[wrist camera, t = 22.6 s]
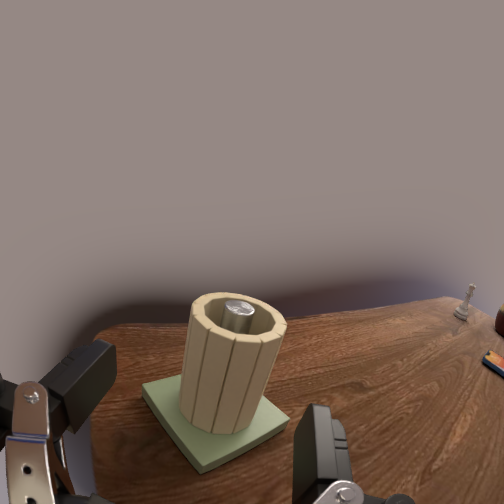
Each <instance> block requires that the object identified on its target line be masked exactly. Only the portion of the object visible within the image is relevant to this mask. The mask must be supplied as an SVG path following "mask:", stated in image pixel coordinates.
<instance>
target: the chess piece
mask: <svg viewBox="0 0 504 504" xmlns="http://www.w3.org/2000/svg"><path fill="white" fill-rule="evenodd" d="M474 284H475V283H474V282H473V284H469V290H468V291H467V292H466V294H467V296H466V298H465V300H464V302H463V303H462V304H461V305H460V306H459V307H457V308H456V309H455V311H454V315H455V316H456V317H458V318H460V319H462V320H466V319H467V316H468V312H467V310H468V308H467V307H468V303H469V299H470V297H471V296H473V294H472V293H473V290H474V289H475V288H476V287H475V285H474Z"/></svg>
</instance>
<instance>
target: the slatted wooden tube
mask: <svg viewBox="0 0 504 504" xmlns="http://www.w3.org/2000/svg"><path fill="white" fill-rule="evenodd" d="M230 300H239V301H243V302H246V303H248V304H250V305H251V306H252V307H253V308H254V310H255V313H254V316H253V320H252V324H251V327H250V331H249V335H246V334H236V333H233V332H231V331H228V330H226V329H223V328H221V327H220V322H221V318H222V313H223V308H224V304H225V303H226V302H227V301H230ZM286 328H287V323H286V322H285V320H284V318H283V316H282V315H281V314H280V313H279V312H278V311H277V310H275V309H274V308H272V307H271V306H269V305H268V304H266V303H263V302H262V301H260V300H257V299H254V298H251V297H248V296H244V297H243V295H241V294H233V293H226V292H224V293H221V292H219V293H211V294H205V296H204V295H203V296H201V297H200V298H198V299H197V300H195V301H194V302H193V303H192V307H191V313H190V319H189V326H188V332H187V339H186V346H185V353H184V360H183V367H182V375H181V383H180V391H179V409H180V412H181V413H182V414H183V415H184V417H185V418H186V419H187V420H188V422H189V423H190V424H191V423H192V425H193V426H195V427H197V428H199V429H202V430H204V431H206V432H208V433H210V432H211V431H212V434H232V432H233V433H236V432H238V431H240V430H242V429H244V428H246V427H248V426H249V425H250V424H251V422H252V420H253V418H254V415H255V413H256V411H257V408H258V406H259V403H260V400H261V398H262V395H263V393H264V390H265V387H266V385H267V382H268V379H269V376H270V374H271V371H272V368H273V366H274V363H275V360H276V357H277V354H278V351H279V349H280V346H281V343H282V340H283V337H284V334H285V331H286Z"/></svg>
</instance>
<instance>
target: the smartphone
mask: <svg viewBox="0 0 504 504" xmlns="http://www.w3.org/2000/svg"><path fill="white" fill-rule="evenodd" d="M482 360H483V362H484V363H486V364H487V365H488V366H490V367H491V368H493V369H494V370H495V371H497V372H498V373H499V374H501V375H502V376H504V358H503V357H501V356H500V355H498V354H497V353H496V352H494V351H492V350H489V351H488V352H487V353H486V354H485V355H484V357H483V359H482Z"/></svg>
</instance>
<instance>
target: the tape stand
mask: <svg viewBox="0 0 504 504" xmlns="http://www.w3.org/2000/svg"><path fill="white" fill-rule="evenodd" d="M254 313H255V310H254V308H253V307H252V306H251V305H250V304H248V303H246V302H243V301H239V300H230V301H227V302H226V303H225V304H224V308H223V313H222V318H221V322H220V327H221V328H223V329H226V330H228V331H231V332H233V333H236V334H246V335H249V331H250V327H251V324H252V320H253V316H254ZM181 375H182V374H180V375H177V376H173V377H169V378H166V379H162V380H158V381H154V382H150V383H145V384H142V396H143V398H144V399H145V401H146V403H147V404H148V406H149V407H150V409H151V410H152V412H153V413H154V415H155V416H156V418H157V419H158V420H159V422H160V423H161V425H162V426H163V428H164V429H165V430H166V432H167V433H168V434H169V436H170V437H171V439H172V440H173V441H174V443H175V444H176V445H177V446H178V448H179V449H180V450H181V452H182V453H183V454H184V455H185V457H186V458H187V459H188V460H189V462H190V463H191V464H192V465H193V466H194V468H195V469H196V470H197V471H198V472H199V473H200V474H203V473H205V472H207V471H209V470H212V469H214V468H216V467H218V466H220V465H222V464H224V463H226V462H228V461H230V460H232V459H234V458H235V457H237V456H239V455H241V454H243V453H245V452H247V451H248V450H250V449H252V448H254V447H255V446H257V445H259V444H261V443H262V442H264V441H266V440H267V439H269V438H271V437H272V436H274V435H276V434H277V433H279V432H280V431H282V430H284V429H285V428H286V426H287V424H288V422H289V420H290V418H289V417H288V416H287V415H285V414H284V413H283V412H282V411H281V410H279V409H278V408H277V407H276V406H275V405H273V404H272V403H271V402H270V401H269V400H267V399H266V398H265V397H264V396H263V395H262V398H261V400H260V403H259V406H258V408H257V411H256V413H255V415H254V418H253V420H252V422H251V424H250V425H249V426H248V427H246V428H244V429H242V430H240V431H238V432H236V433H233V432H232V434H212V431H211V432H210V433H208V432H206V431H204V430H202V429H199V428H197V427H195V426H193V425H192V423H191V424H190V423H189V422H188V420H187V419H186V418H185V417H184V415H183V414H182V413H181V412H180V409H179V391H180V383H181Z"/></svg>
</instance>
